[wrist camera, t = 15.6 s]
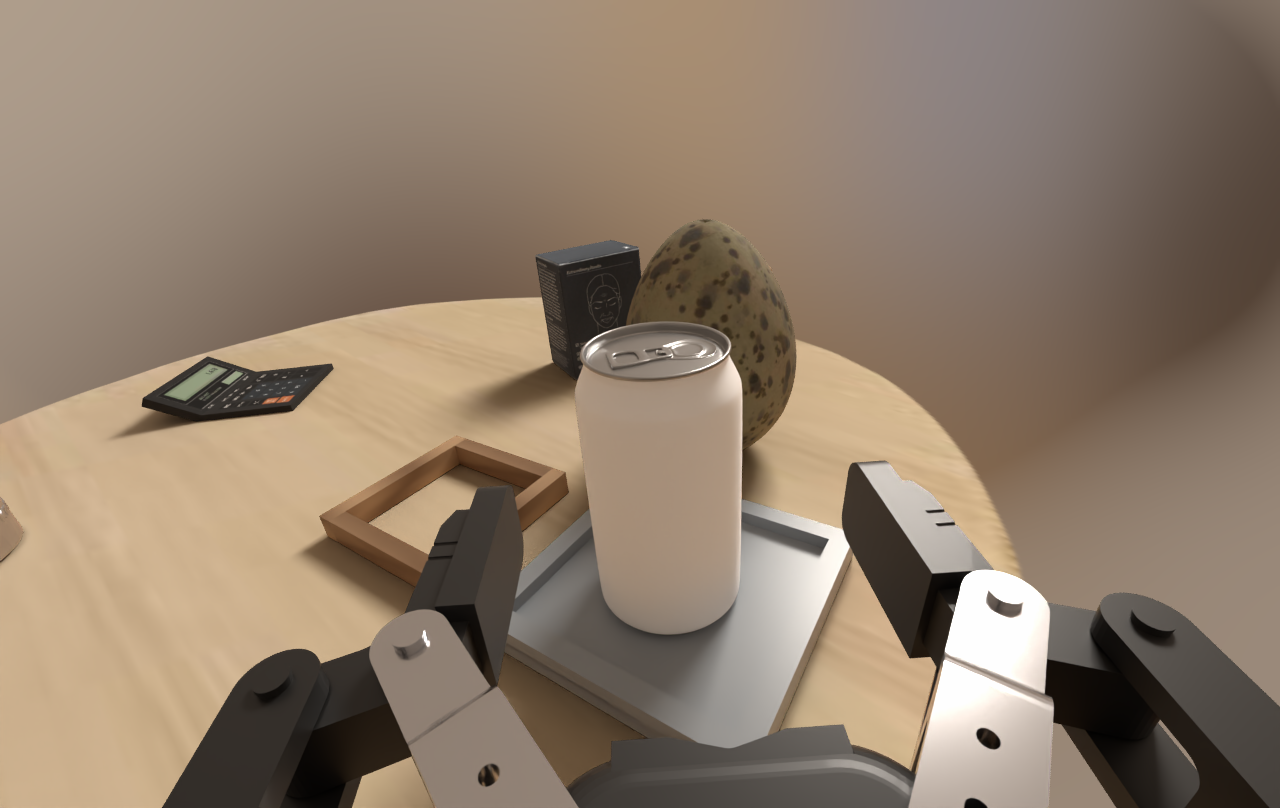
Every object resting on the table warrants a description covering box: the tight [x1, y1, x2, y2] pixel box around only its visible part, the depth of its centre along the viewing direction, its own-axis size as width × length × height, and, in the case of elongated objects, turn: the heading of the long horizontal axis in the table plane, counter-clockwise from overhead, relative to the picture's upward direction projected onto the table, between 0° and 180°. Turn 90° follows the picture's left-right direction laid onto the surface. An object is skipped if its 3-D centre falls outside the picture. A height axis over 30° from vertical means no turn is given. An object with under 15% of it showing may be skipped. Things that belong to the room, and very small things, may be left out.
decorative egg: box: [626, 220, 796, 450], centre depth 35 cm, size 11×11×15 cm
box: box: [536, 240, 641, 379], centre depth 51 cm, size 8×6×11 cm
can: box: [575, 322, 742, 635], centre depth 23 cm, size 6×6×12 cm
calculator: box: [142, 357, 333, 422], centre depth 51 cm, size 9×12×3 cm
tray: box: [504, 499, 853, 748], centre depth 26 cm, size 13×13×2 cm
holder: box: [319, 436, 569, 587], centre depth 33 cm, size 10×10×2 cm
